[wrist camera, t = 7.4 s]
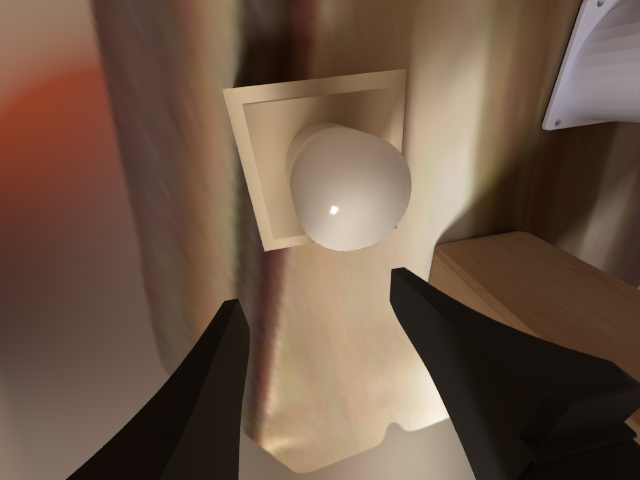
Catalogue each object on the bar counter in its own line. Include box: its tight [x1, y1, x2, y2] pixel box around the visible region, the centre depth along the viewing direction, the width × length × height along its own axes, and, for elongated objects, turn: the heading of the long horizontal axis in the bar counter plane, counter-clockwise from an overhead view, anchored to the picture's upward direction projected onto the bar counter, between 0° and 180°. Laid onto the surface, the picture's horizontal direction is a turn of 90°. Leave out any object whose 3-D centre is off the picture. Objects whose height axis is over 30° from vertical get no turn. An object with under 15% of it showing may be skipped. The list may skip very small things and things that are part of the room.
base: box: [223, 69, 407, 251], centre depth 17 cm, size 10×10×3 cm
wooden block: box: [428, 231, 640, 445], centre depth 18 cm, size 10×10×20 cm
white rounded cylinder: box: [285, 122, 411, 251], centre depth 13 cm, size 5×5×6 cm
